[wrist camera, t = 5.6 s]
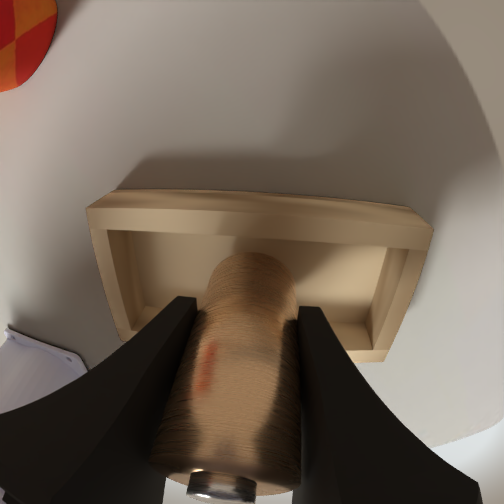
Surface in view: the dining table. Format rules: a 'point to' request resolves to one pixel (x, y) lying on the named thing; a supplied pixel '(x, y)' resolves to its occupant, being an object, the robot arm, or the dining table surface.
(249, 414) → the battery cell
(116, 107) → the dining table surface
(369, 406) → the robot arm
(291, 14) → the dining table surface
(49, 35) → the paper cup
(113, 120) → the dining table surface
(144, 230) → the wooden trough
